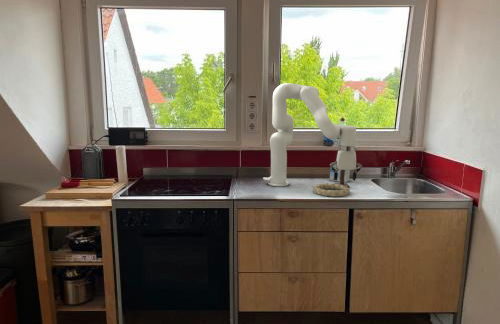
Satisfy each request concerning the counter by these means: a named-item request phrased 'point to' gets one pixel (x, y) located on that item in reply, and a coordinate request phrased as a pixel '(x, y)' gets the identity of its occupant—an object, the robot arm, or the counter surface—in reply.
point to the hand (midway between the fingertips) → (344, 179)
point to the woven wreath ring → (340, 190)
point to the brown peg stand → (342, 178)
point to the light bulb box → (346, 176)
